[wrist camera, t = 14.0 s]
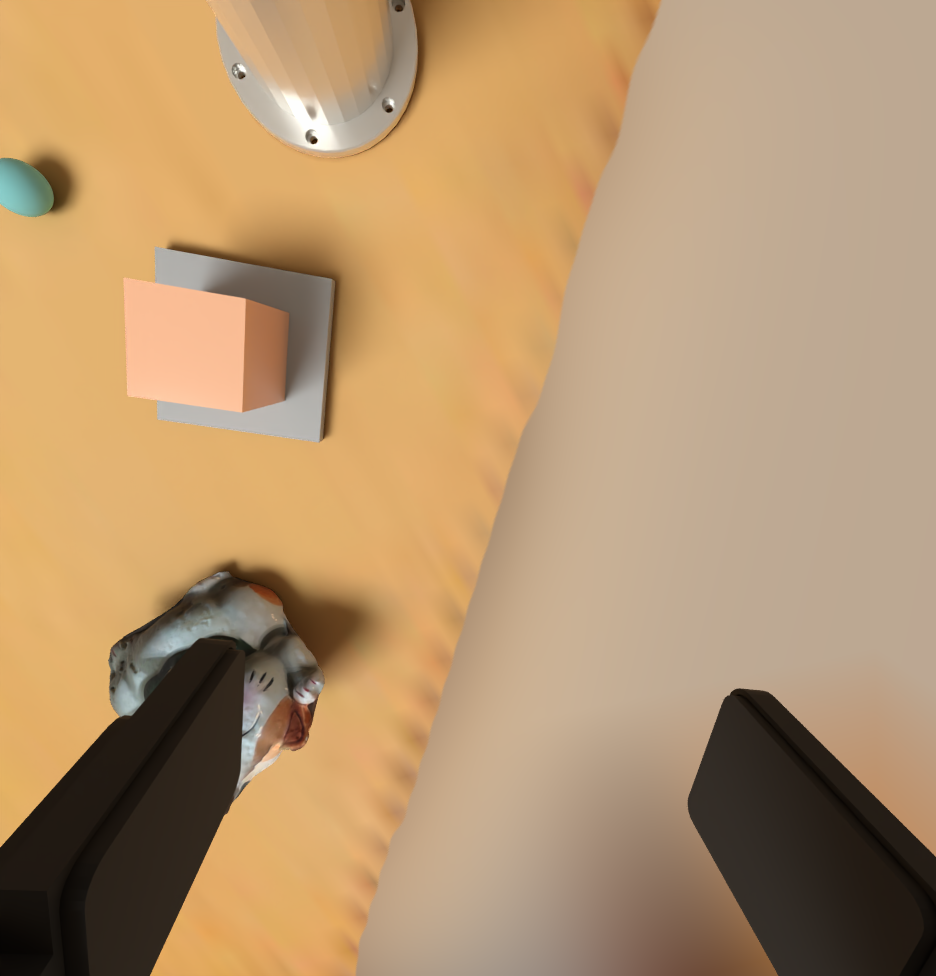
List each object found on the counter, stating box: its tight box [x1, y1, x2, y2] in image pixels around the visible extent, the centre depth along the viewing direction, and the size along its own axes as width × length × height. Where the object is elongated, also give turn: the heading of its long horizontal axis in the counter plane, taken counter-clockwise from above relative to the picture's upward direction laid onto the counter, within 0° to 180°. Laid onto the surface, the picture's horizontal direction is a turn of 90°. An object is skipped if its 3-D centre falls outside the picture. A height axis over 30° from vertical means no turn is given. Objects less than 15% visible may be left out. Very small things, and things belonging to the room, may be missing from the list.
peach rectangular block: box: [124, 278, 289, 413], centre depth 30 cm, size 6×6×8 cm
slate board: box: [155, 247, 335, 442], centre depth 34 cm, size 12×12×1 cm
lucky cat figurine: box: [108, 571, 324, 815], centre depth 36 cm, size 15×12×14 cm
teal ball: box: [0, 158, 54, 217], centre depth 30 cm, size 3×3×3 cm
